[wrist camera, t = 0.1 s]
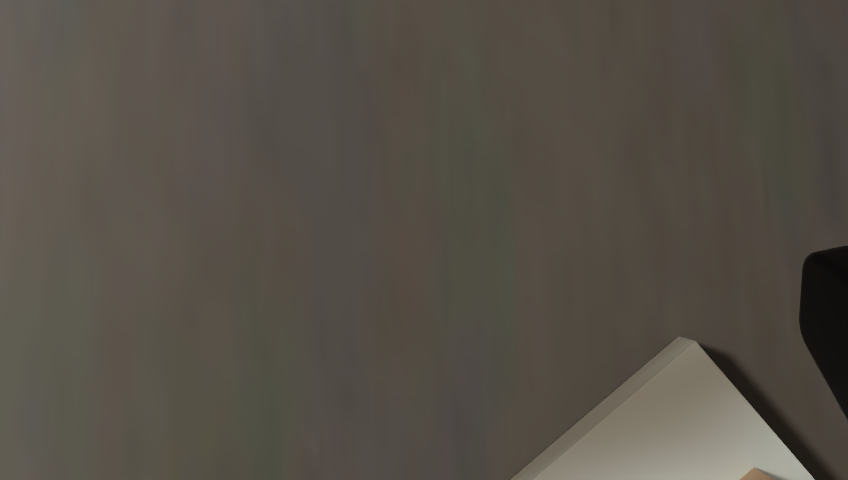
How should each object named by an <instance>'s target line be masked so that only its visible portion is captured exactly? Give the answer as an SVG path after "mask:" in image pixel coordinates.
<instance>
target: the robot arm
mask: <svg viewBox="0 0 848 480" xmlns="http://www.w3.org/2000/svg"><path fill="white" fill-rule="evenodd" d="M799 324H800V330H801V334H802V337H803V340H804V342H805V344H806V346H807V348H808V350H809V352H810V354H811V355H812V357H813V359H814V361H815V363H816V365H817V367H818V368H819V370H820V372H821V374H822V376H823V378H824V379H825V381H826V383H827V385H828V387H829V389H830V390H831V392H832V394H833V396H834V398H835V400H836V402H837V403H838V405H839V407H840V409H841V411H842V413H843V414H844V416H845V418H846V420H847V422H848V246H841V247H836V248H832V249H827V250H822V251H817V252H813V253H811V254H810V255H809V256H807V257H806V259H805V261H804V264H803V269H802V283H801V298H800V312H799Z"/></svg>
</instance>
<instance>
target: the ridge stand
mask: <svg viewBox="0 0 848 480" xmlns="http://www.w3.org/2000/svg"><path fill="white" fill-rule="evenodd" d="M511 480H815V479H814V478H813V477H812V476H811V475H810V473H809V472H808V471H807V470H806V469H805V468H804V467H803V465H802V464H801V463H800V462H799V461H798V460H797V458H796V457H795V456H794V455H793V454H792V453H791V451H790V450H789V449H788V448H787V447H786V446H785V444H784V443H783V442H782V441H781V440H780V439H779V438H778V436H777V435H776V434H775V433H774V432H773V431H772V429H771V428H770V427H769V426H768V425H767V424H766V422H765V421H764V420H763V419H762V418H761V417H760V415H759V414H758V413H757V412H756V411H755V410H754V408H753V407H752V406H751V405H750V404H749V403H748V402H747V400H746V399H745V398H744V397H743V396H742V395H741V393H740V392H739V391H738V390H737V389H736V388H735V386H734V385H733V384H732V383H731V382H730V381H729V379H728V378H727V377H726V376H725V375H724V374H723V372H722V371H721V370H720V369H719V368H718V367H717V366H716V364H715V363H714V362H713V361H712V360H711V359H710V357H709V356H708V355H707V354H706V353H705V352H704V350H703V349H702V348H701V347H700V346H699V345H698V343H697V342H696V341H693V340H690V339H686V338H683V337H680V336H678V337H677V338H676V339H675V340H674V341H673V342H671V343H670V344H669V345H668V346H667V347H666V348H664V349H663V350H662V351H661V352H660V353H659V354H657V355H656V356H655V357H654V358H653V359H651V360H650V361H649V362H648V363H647V364H646V365H644V366H643V367H642V368H641V369H640V370H639V371H637V372H636V373H635V374H634V375H633V376H632V377H630V378H629V379H628V380H627V381H626V382H624V383H623V384H622V385H621V386H620V387H619V388H617V389H616V390H615V391H614V392H613V393H612V394H610V395H609V396H608V397H607V398H606V399H604V400H603V401H602V402H601V403H600V404H599V405H597V406H596V407H595V408H594V409H593V410H592V411H590V412H589V413H588V414H587V415H586V416H585V417H583V418H582V419H581V420H580V421H579V422H577V423H576V424H575V425H574V426H573V427H572V428H570V429H569V430H568V431H567V432H566V433H565V434H563V435H562V436H561V437H560V438H559V439H558V440H556V441H555V442H554V443H553V444H552V445H550V446H549V447H548V448H547V449H546V450H545V451H543V452H542V453H541V454H540V455H539V456H538V457H536V458H535V459H534V460H533V461H532V462H531V463H529V464H528V465H527V466H526V467H525V468H523V469H522V470H521V471H520V472H519V473H518V474H516V475H515V476H514V477H513V478H512V479H511Z"/></svg>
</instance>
